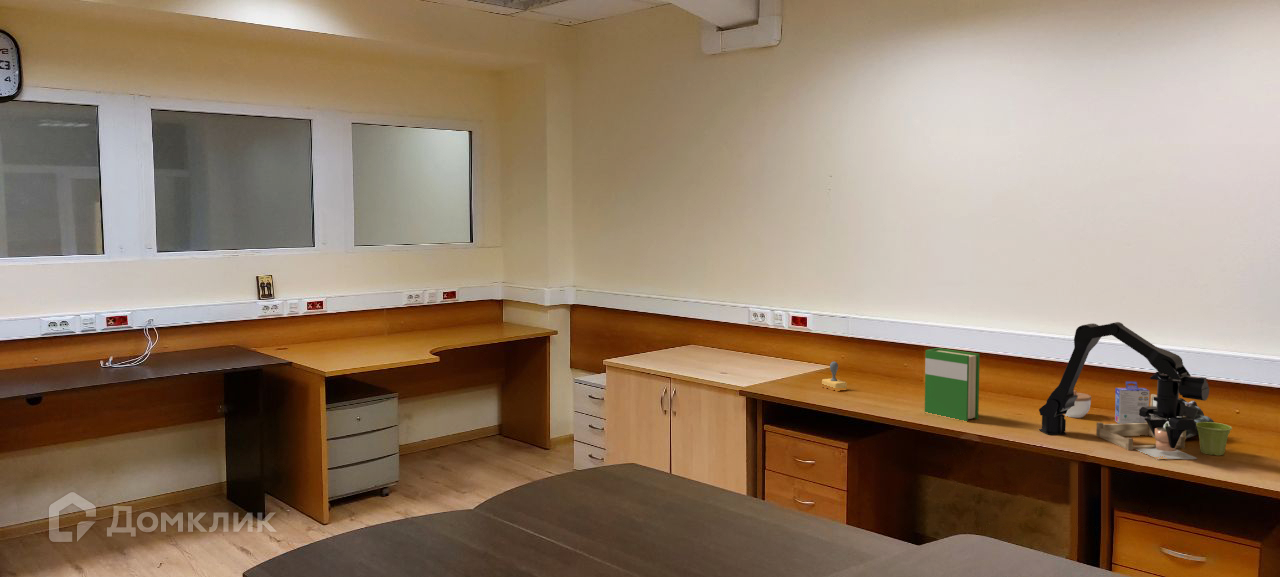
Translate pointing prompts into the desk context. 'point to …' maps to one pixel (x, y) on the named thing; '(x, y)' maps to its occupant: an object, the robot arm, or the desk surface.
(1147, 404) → the ink cartridge box
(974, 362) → the hardback book
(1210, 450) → the plant pot
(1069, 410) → the lidded jar
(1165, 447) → the seedling pot
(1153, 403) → the lid pane
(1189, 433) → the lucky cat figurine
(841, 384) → the rubber stamp
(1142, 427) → the frame
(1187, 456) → the stone tile
